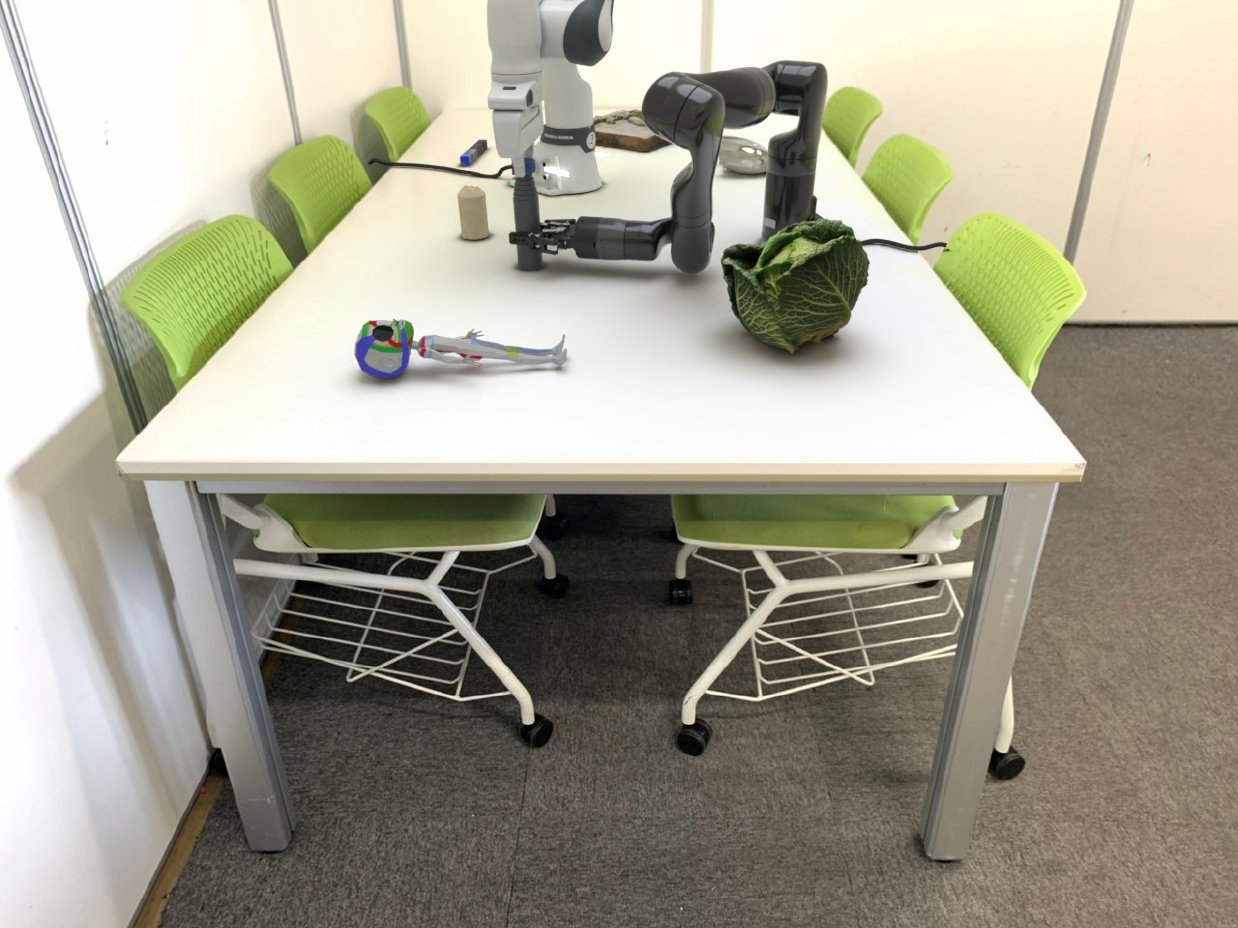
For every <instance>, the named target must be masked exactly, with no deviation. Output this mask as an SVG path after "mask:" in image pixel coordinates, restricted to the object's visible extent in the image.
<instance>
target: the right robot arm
mask: <svg viewBox="0 0 1238 928" xmlns="http://www.w3.org/2000/svg"><path fill="white" fill-rule="evenodd" d="M828 84H829V74H828V70H827V67H826V66H825V64H823V63H822V62H817V61H807V60H805V61H804V60H791V59H783V60H782V59H781V60H777V61H773V62H772V63H769V64H767V65H764V66H763V67H757V66H743V67H742V66H741V67H736V68H731V69H726V70H718V71H711V72H704V73H693V72H692V73H691V72H683V71H670V72H666V73H664V74H663V75H660V76H659V77H658V78H657V79H656V80H654V81H653V83H652V84H651V85H650V86H649V88H648V89H647V90H646V93H644V96H643V99H642V103H641V110H642V118H643V121H644V124H645V125H646V127H647V128H648V129H649V130H650V131H651V132H652V133H653V134H655V135H656V136H658V137H660V138H662V139H664V140H666V141H668V142H670V143H669V144H672V145H674V146H676V147H678V148H680V149H682V150H686V151H688V152H689V154H690V157H691V161H690V162H689V163H688V164H687V165H686V166H685V167H684V168H682V169H681V170H680V172H679V173H677V174H676V176H675V178H674V179H673V181H672V184H671V186H670V191H669V202H670V216H669V217H665V218H659V219H655V220H649V221H648V220H636V219H635V220H633V219H624V218H617V217H606V216H589V215H588V216H587V215H580V216H579V217H578V218H577V219H576V218H557V219H553V218H552V219H549V218H548V219H547V218H546V219H544V222H543V221H540V229H541V232H530V233H529V232H516V231H514V230H513V231H510V232H509V233H508V242H509V244H510V245H515V246H517V245H529V251H534V252H540V253H542V254H545V255H553V256H557V255H559V251H567V250H568V249H569V250H570V249H573V251H574V252H575V253H574V254H575V256H576V257H577V258H578V259H581V260H582V259H583V260H597V261H615V262H617V261H634V262H635V261H636V262H654V261H656V260H657V259H659V256H660V254H661V252H662V250H663V249H664V248H665V247H666V246H667V245H670V258H671V262H672V264H673V265H674V267H675V268H676V269H677V270H678V271H680V272H681V273H683V274H685V275H690V276H694V275H698V274H701V273H702V272H704V271H705V270H706V269H707V268H708V267H709V265H710V264H711V260H712V256H713V255H712V254H713V248H714V244H715V243H714V242H715V237H716V226H715V223H714V222H713V215H714V210H713V209H714V200H713V199H714V196H713V195H714V194H713V192H714V191H713V190H714V180H715V175H716V170H717V165H718V162H719V152H720V147H721V141H722V136H723V135H724V130H732V131H734V130H735V131H736V130H743V129H748V128H751V127H754V126H757V125H759V124H761V123H763V122H764V121H765V120H767V119H768V117H770V115H771V114H774V115H780V116H788V117H796V118H797V117H798V122H797V125H796V127H794V128H793V129H791V130H789V131H785V132H782V133H778V134H775V135H773V136H771V137H770V138H769V140H768V146H767V150H768V156H767V171H766V172H765V186H764V187H765V188H764V198H763V199H764V200H763V214H762V227H761V237H760V244H762V243H764V242H767V241H768V240H769V238H770V237H772V236H775V234H776V233H777V232H778V231H780V230H782V229H784V228H786V227H787V226H789V225H791V224H795V223H800V222H804V221H805V222H811V221H817V220H818V219H820V218H823V220H824V219H825V218H824V217H823V216H821V215H820V214H819V213H817V206H818V204H817V203H818V197H817V196H815V194H814V192H815V183H816V173H817V164H818V163H817V162H818V153H819V145H820V141H821V138H822V137H821V136H822V131H823V122H824V115H825V109H826V103H827V96H828V89H829V88H828V87H829V85H828ZM535 241H537V242H539V243H536V242H535ZM860 241H861V243H862V245H863V246H865V245H866V246H867V245H870V244H881V245H887V246H891V247H895V248H899V249H902V250H906V251H907V250H909V251H915V252H921V251H923V252H924V251H928V250H932V249H935V248H945V247H946V245H947V244H948V243H946V242H944V241H937V242H933V243H929V244H925V245H911V244H905V243H902V242H897V241H894V240H890V239H884V238H869V239H864V240H860Z"/></svg>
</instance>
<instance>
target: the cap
mask: <svg viewBox="0 0 1238 928" xmlns="http://www.w3.org/2000/svg"><path fill="white" fill-rule="evenodd" d="M524 163H525V165H526V174H530V173H534V172H535V171H536V167H535V160H534V159H532V158H524ZM510 165H512V169H511V173H512V172H513V173H514V166H513V163H512V162H511V163H510Z"/></svg>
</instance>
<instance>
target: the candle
mask: <svg viewBox="0 0 1238 928" xmlns="http://www.w3.org/2000/svg"><path fill="white" fill-rule="evenodd" d="M456 196H457V202H458V203H457V205H458V211H459V223H460V229H461V236H462V238H463V239H465V240H482V239H485V238H488V236H490V229H489V219H488V209H487V208H488V207H487V197H486V192H485V191H484V190H483V189H482V188H481V187H479V186H473V185H467V184H465V185H464V186H462V188H461V189H460V190H459V192H458V193H457V195H456Z"/></svg>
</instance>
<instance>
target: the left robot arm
mask: <svg viewBox="0 0 1238 928" xmlns="http://www.w3.org/2000/svg"><path fill="white" fill-rule="evenodd" d="M614 5H615V0H487V2H486V29H487V30H486V32H487V43H488V47H489V49H490V53H491V65H490V80H491V81H490V90H489V93H488V94H487V95H488V96H487V108H488V109H489V110H492V114H491V118H492V121H491V122H492V129H493V135H494V144H495V149H496V152H497V155H498V156H499V158H501V159H510V160H511V163H513V166H514V173H513V172H512V171H511V175H512V176H513V177H512V178H511V179H510V180H509V186H511V187H513V188H514V187H515V185H514V183H515V178H516V177H524V176H525V175H526V165H525V163H524V158H532V159H534V160H535V167H536V171H535V172H534V173H532V177H534V182H535V186H536V189H537V192H538V194H543V195H545V196H559V195H568V194H569V195H570V194H582V193H588V192H592V191H595V190H598V189H600V188H601V187H602V186H603V183H602V180H601V178H600V177H601V176H600V173H599V168H598V163H597V156H598V157H609V153H606V152H605V153H604V152H596V145H597V144H596V133H595V124H594V123H593V118H594V102H593V101H594V100H593V99H594V98H593V89H592V87H591V85H590V83H589V82H588V81H586V80H585V79H583V78H582V77H581V75H580V72H579V70H578V65H579V66H584V67H589V68H590V67H594V66H596V65H597V64H598V63H600V62H601V61H602V60H603V59H604V58H606V56H607V54H608V53H609V52H610V50H611V47H612V42H613V41H612V40H613V35H614V22H613V21H614V20H613V16H614V15H613V14H614V13H613V12H614ZM542 103H543V104H542ZM543 106H544V112H543ZM544 118H545V119H544ZM544 120H545V121H544ZM544 122H545V123H544ZM538 139H539V141H538V142H536V141H537V140H538ZM535 142H536V143H535ZM374 163H378V164H380V165H382V166H389V167H405V168H406V167H408V168H419V169H420V168H421V169H431V170H438V171H439V170H440V171H447V172H452V173H457V174H463V175H469V176H473V177H477V178H483V179H484V178H486V179H498V178H500V177H501V176H502V174H503V172H505V171H507V170H512V165H511V164H506V165H505V166H502V167H500V168H499V170H498V171H497V173H493V174H485V173H481V172H478V171H474V170H467V169H459V168H455V167H450V166H444V165H435V164H427V163H415V162H398V161H395V162H394V161H387V160H382V159H381V158H378V157H377V158H376V157H375V158H374V157H373V158H371V159H370V160H369V161H368V162H367V165H373V164H374Z"/></svg>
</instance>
